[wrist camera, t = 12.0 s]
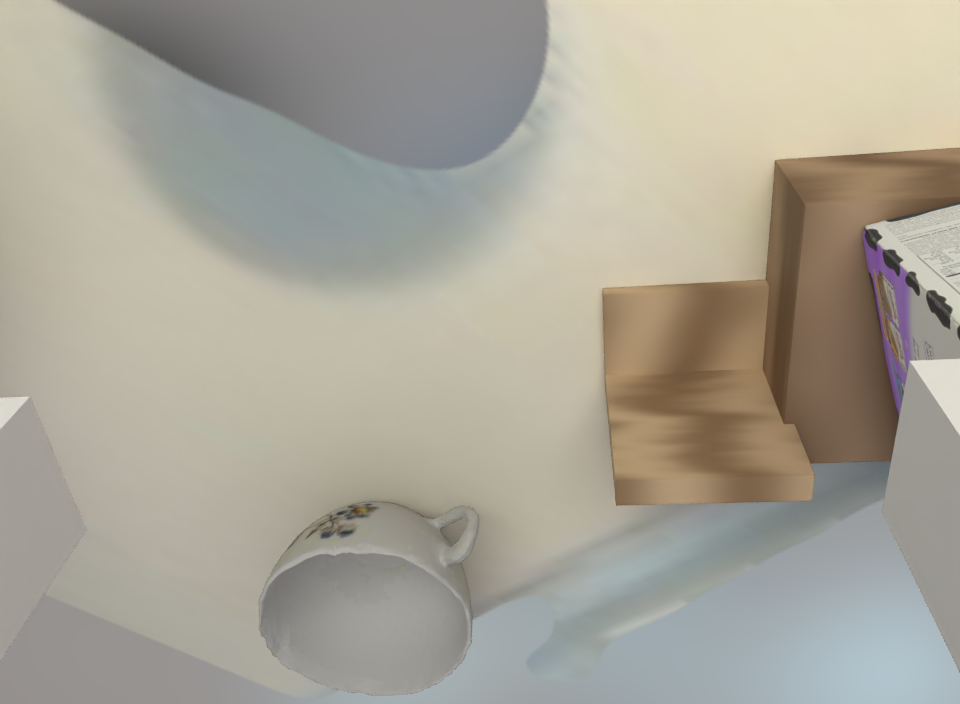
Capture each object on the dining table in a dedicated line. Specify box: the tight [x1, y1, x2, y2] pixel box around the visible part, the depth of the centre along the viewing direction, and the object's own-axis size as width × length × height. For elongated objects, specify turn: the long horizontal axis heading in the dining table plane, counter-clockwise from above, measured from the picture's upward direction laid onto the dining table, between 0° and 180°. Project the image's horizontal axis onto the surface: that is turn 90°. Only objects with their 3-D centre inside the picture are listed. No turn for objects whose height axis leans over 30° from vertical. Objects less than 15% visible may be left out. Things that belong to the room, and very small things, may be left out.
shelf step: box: [762, 148, 960, 463], centre depth 42 cm, size 12×14×9 cm
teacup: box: [259, 502, 479, 696], centre depth 53 cm, size 15×12×8 cm
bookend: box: [603, 280, 815, 506], centre depth 44 cm, size 9×6×10 cm
